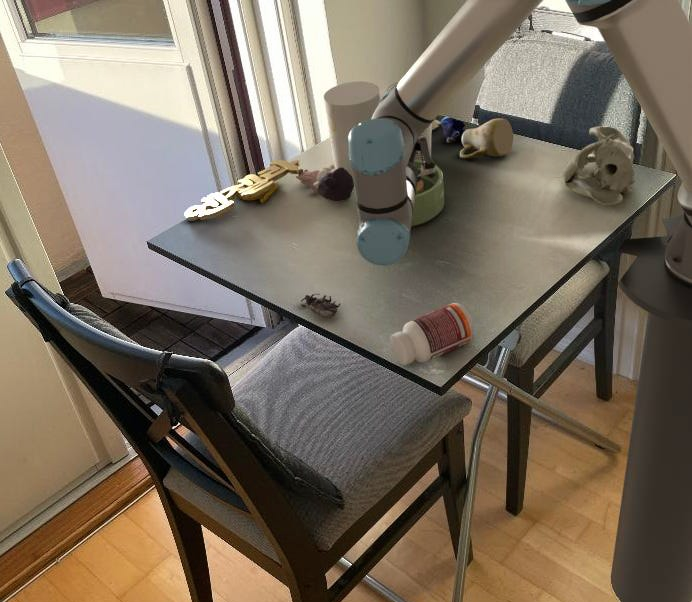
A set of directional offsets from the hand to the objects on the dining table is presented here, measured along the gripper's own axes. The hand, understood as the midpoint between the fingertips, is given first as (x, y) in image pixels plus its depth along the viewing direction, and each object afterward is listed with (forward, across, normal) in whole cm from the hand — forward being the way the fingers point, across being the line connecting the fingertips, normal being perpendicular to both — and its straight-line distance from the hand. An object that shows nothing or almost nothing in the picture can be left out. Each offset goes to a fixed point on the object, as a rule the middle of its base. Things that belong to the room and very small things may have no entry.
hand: (404, 126), depth 144 cm
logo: (+1, -27, -12) cm, 30 cm away
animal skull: (-2, +35, -14) cm, 38 cm away
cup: (+10, 0, -13) cm, 17 cm away
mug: (+13, +14, -13) cm, 23 cm away
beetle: (-34, -10, -11) cm, 37 cm away
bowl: (-6, 0, -13) cm, 14 cm away
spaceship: (+19, +10, -9) cm, 23 cm away
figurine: (-1, -17, -13) cm, 21 cm away
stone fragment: (+25, 0, -10) cm, 26 cm away
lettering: (0, -32, -12) cm, 34 cm away
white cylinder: (+10, -11, -13) cm, 20 cm away
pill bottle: (-43, +12, -10) cm, 46 cm away
